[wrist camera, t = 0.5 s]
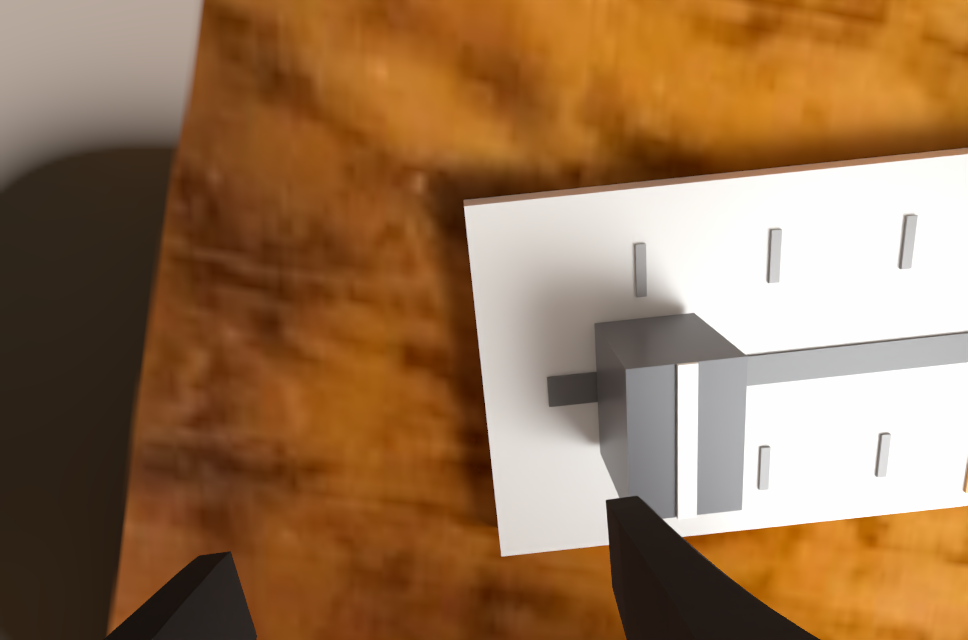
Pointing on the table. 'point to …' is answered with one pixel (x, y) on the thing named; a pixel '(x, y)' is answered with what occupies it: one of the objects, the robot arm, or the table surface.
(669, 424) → the fader
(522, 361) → the panel
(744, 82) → the table surface
